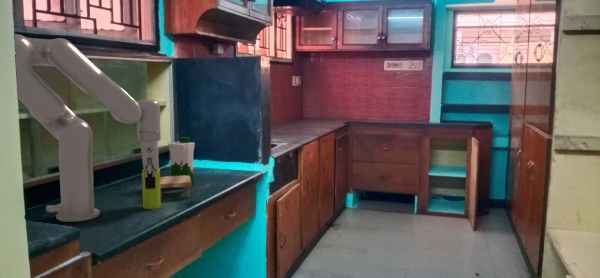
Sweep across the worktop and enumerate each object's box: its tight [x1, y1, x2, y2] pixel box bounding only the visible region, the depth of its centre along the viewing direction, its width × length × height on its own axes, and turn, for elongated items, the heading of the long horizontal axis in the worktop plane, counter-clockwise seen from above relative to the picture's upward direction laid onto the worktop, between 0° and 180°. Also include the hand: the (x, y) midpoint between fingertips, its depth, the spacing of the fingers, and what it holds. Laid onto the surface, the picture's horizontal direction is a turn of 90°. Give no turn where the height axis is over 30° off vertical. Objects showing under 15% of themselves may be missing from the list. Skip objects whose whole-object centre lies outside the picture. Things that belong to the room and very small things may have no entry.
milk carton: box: [167, 136, 196, 189], centre depth 196 cm, size 9×9×20 cm
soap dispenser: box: [139, 149, 162, 210], centre depth 164 cm, size 6×7×20 cm
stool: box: [160, 175, 192, 200], centre depth 181 cm, size 13×13×6 cm
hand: (150, 185), depth 164 cm, fingers open, 9 cm apart
